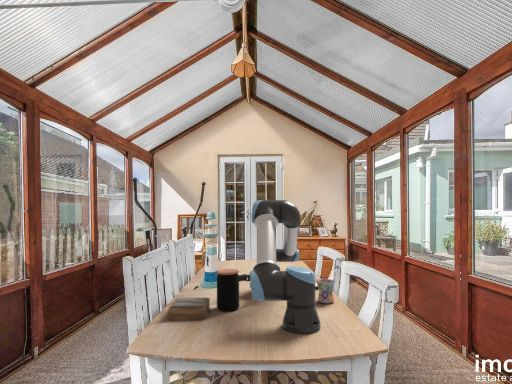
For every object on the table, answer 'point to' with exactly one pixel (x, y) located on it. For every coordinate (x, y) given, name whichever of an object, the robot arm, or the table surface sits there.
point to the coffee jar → (227, 290)
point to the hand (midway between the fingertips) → (238, 283)
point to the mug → (325, 290)
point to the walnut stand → (189, 309)
